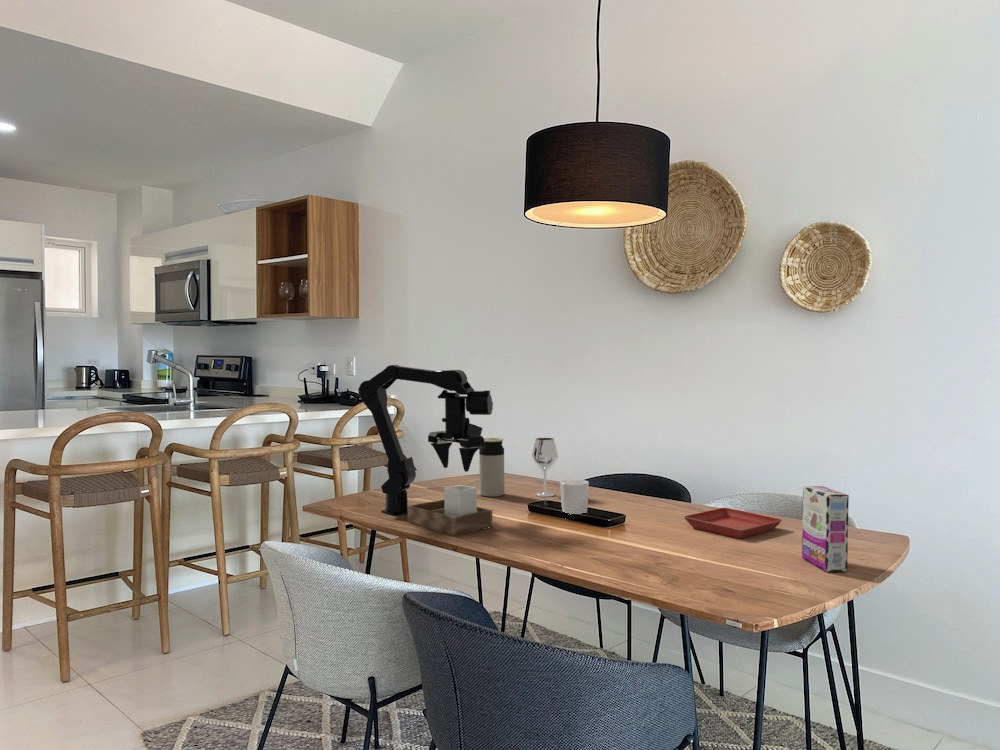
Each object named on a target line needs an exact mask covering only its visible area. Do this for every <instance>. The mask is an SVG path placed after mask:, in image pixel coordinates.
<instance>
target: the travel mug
mask: <svg viewBox="0 0 1000 750" xmlns="http://www.w3.org/2000/svg"><path fill="white" fill-rule="evenodd" d="M483 438H484V446H481V449H478V450H479V453H478V454H479V455H478V456H479V460H478V464H479V465H478V467H479V468H478V470H479V473H478V475H479V476H478V477H479V478H478V479H479V495H480V496H482V497H485V496H486V498H490V497H491V498H495V497H496V498H497V497H502V496H504V495H505V448H504V446H503V441H504V438H501V437H483Z"/></svg>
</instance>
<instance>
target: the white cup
mask: <svg viewBox="0 0 1000 750" xmlns="http://www.w3.org/2000/svg"><path fill="white" fill-rule="evenodd" d="M589 483H590V482H589V481H588V480H586V479H585V480H584V479H576V478H575V479H564V480H561V481H560V482H559V485H560V486H559V487H560V501H561V508H562V509H561V510H562V511H563V512H565V513H569V514H570V515H571V514H582V513H587V514H588V506H589V505H588V504H589V485H590V484H589ZM569 514H568V515H569ZM565 520H567V519H566V518H565Z"/></svg>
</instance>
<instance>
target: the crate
mask: <svg viewBox="0 0 1000 750" xmlns="http://www.w3.org/2000/svg"><path fill="white" fill-rule="evenodd" d="M408 522H410V523H409V524H411V523H413V524H412V525H415V524H417V525H416V526H418V525H420V527H422V526H423V527H422V528H425V527H427V528H426V529H429V528H431V529H430V530H432V529H434V530H433V531H436V530H437V532H439V531H441V532H440V533H443V532H444V533H443V534H446V533H448V534H447V535H450V534H451V536H453V535H455V536H459V535H458V534H460V535H462V534H461V533H464V534H467V533H466V532H469V533H472V532H471V531H473V532H476V531H475V530H478V531H480V529H482V530H485V529H484V528H486V529H489V528H488V527H491V528H493V510H492V509H488V508H484V507H480V506H477V513H472V514H467V515H462V516H457V517H452V516H448V515H444V499H438V500H434V501H429V502H423V503H417V504H412V505H411V504H410V505H408V513H407V523H408Z"/></svg>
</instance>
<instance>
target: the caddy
mask: <svg viewBox="0 0 1000 750" xmlns="http://www.w3.org/2000/svg"><path fill="white" fill-rule="evenodd" d="M443 489H444V490H443V492H444V493H443V495H444V496H443V498H444V499H443V500H444V515H448V516H452V517H457V516H462V515H467V514H472V513H477V507H478V506H477V505H478V500H477V498H478V496H477V495H478V494H477V493H478V492H477V487H474V486H470V485H469V486H468V485H463V484H459V485H454V486H449V487H448V486H447V487H444V488H443Z"/></svg>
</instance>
